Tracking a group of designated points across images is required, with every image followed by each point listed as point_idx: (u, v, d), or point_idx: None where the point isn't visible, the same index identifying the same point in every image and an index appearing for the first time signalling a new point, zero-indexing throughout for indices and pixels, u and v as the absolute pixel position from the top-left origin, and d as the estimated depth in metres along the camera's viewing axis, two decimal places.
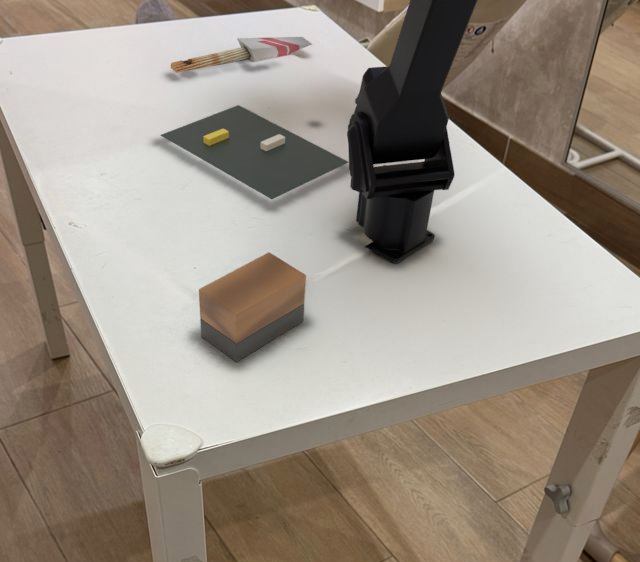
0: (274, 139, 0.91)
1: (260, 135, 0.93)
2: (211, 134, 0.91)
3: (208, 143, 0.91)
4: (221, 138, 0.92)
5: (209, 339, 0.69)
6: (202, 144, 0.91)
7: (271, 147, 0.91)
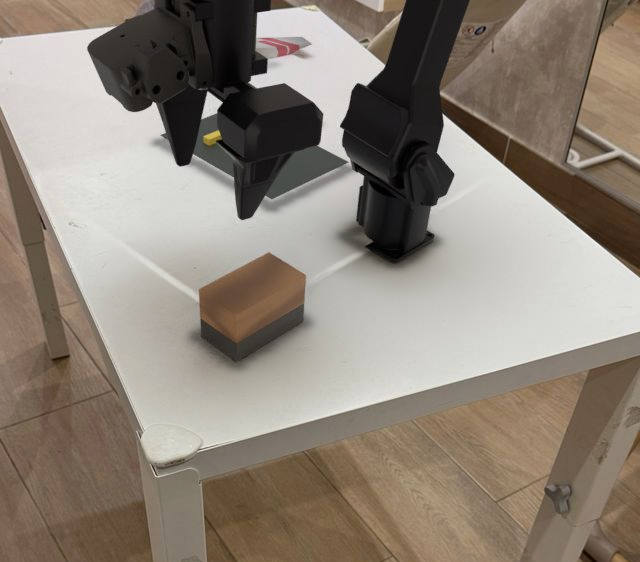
0: None
1: None
2: (211, 134, 0.91)
3: (208, 143, 0.91)
4: (221, 138, 0.92)
5: (209, 339, 0.69)
6: (202, 144, 0.91)
7: None
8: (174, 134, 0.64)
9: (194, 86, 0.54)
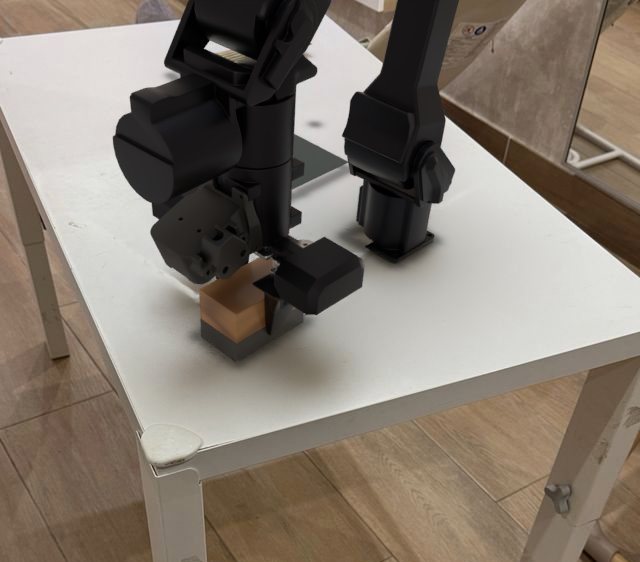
0: None
1: None
2: None
3: None
4: None
5: (209, 339, 0.69)
6: None
7: None
8: None
9: None
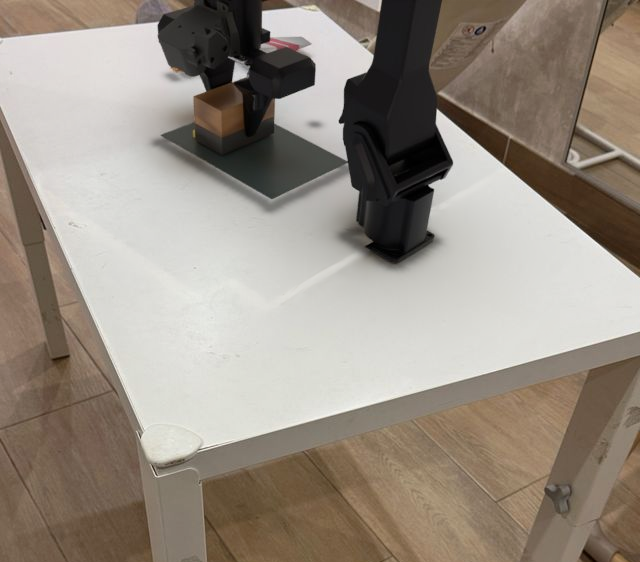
0: None
1: None
2: None
3: None
4: None
5: (201, 140, 0.90)
6: (202, 144, 0.91)
7: None
8: None
9: (229, 55, 0.82)
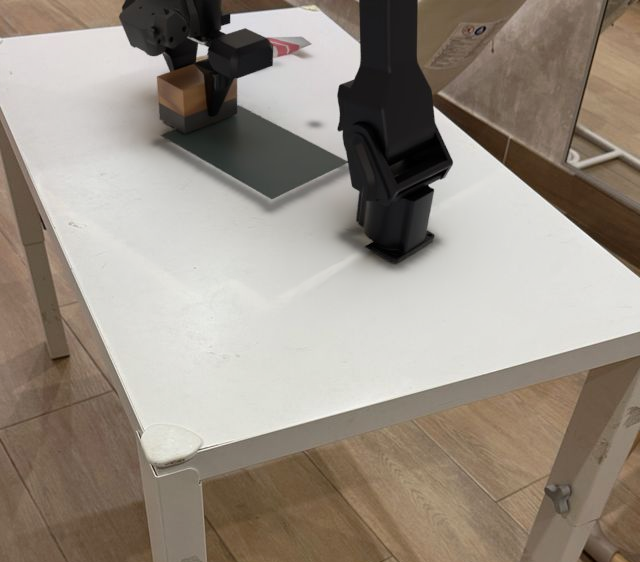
0: None
1: (260, 135, 0.93)
2: None
3: None
4: None
5: (165, 119, 0.93)
6: (202, 144, 0.91)
7: None
8: None
9: (189, 35, 0.84)
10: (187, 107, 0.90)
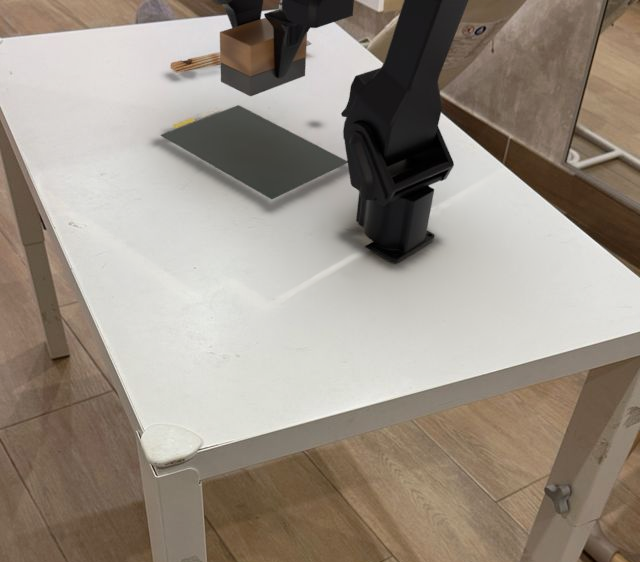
0: None
1: (260, 135, 0.93)
2: None
3: None
4: (186, 122, 0.94)
5: (227, 81, 0.84)
6: (202, 144, 0.91)
7: (205, 114, 0.96)
8: None
9: None
10: (254, 65, 0.81)
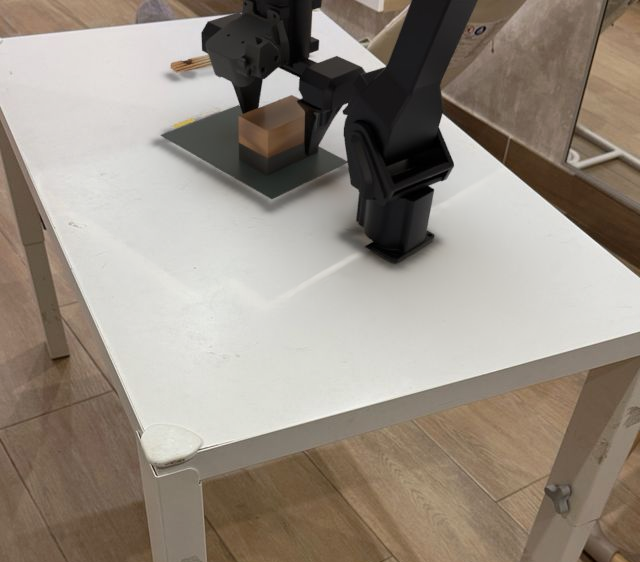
0: None
1: None
2: None
3: None
4: (186, 122, 0.94)
5: (245, 160, 0.88)
6: (202, 144, 0.91)
7: (205, 114, 0.96)
8: (245, 101, 0.89)
9: (278, 64, 0.79)
10: (271, 148, 0.85)
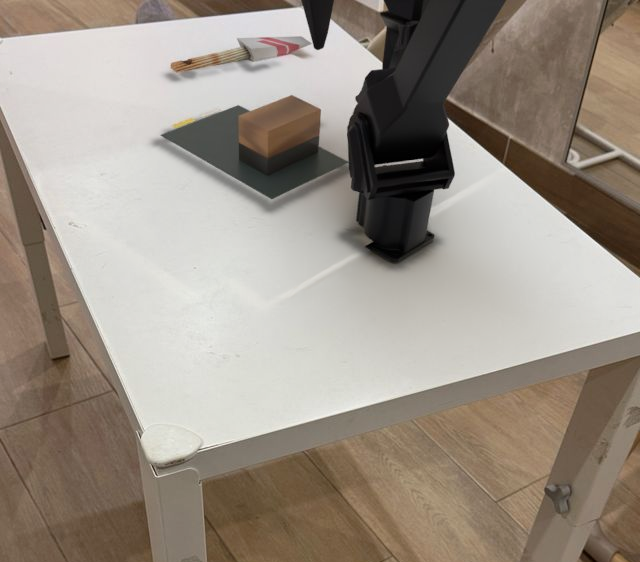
0: None
1: None
2: None
3: None
4: (186, 122, 0.94)
5: (245, 160, 0.88)
6: (202, 144, 0.91)
7: (205, 114, 0.96)
8: (315, 22, 0.82)
9: None
10: (271, 148, 0.85)
